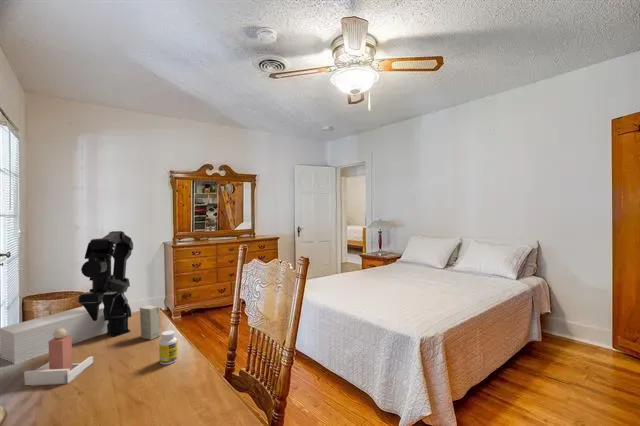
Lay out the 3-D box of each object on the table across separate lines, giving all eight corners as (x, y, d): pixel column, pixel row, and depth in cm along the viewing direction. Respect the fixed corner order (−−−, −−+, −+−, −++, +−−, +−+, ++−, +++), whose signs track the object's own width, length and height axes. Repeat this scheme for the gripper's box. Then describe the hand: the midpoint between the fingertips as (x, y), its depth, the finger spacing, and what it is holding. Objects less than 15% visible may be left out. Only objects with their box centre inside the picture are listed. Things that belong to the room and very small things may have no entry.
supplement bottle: (170, 365, 105) (169, 336, 105) (156, 364, 107) (155, 335, 106) (180, 358, 111) (180, 330, 110) (167, 356, 112) (166, 328, 112)
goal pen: (55, 365, 106) (54, 353, 106) (93, 363, 107) (92, 351, 107) (24, 385, 94) (24, 372, 94) (67, 383, 95) (67, 370, 95)
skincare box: (160, 336, 130) (160, 306, 129) (151, 340, 126) (150, 309, 125) (149, 333, 132) (149, 304, 132) (140, 337, 128) (139, 307, 128)
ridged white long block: (97, 327, 141) (96, 302, 141) (112, 331, 136) (111, 305, 136) (0, 358, 112) (-1, 328, 112) (14, 364, 108) (13, 333, 107)
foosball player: (59, 369, 103) (57, 326, 102) (72, 369, 103) (71, 325, 103) (49, 376, 99) (48, 330, 98) (63, 375, 99) (61, 330, 99)
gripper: (113, 276, 108) (113, 323, 107) (136, 268, 126) (136, 308, 126) (77, 278, 106) (77, 325, 106) (105, 270, 125) (106, 310, 124)
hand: (102, 316), depth 115 cm, fingers open, 9 cm apart
